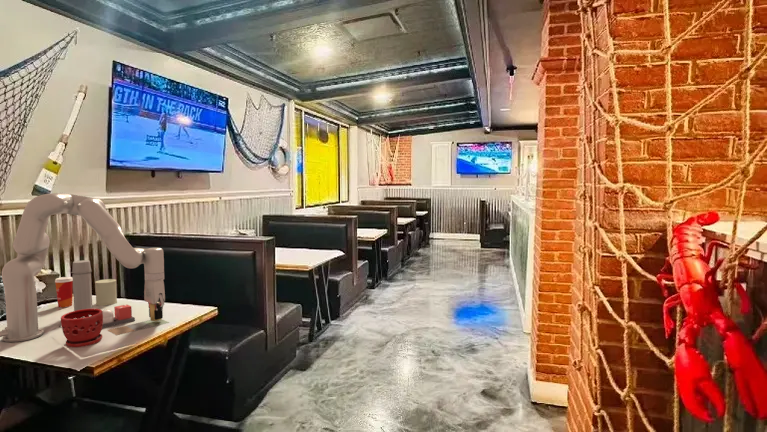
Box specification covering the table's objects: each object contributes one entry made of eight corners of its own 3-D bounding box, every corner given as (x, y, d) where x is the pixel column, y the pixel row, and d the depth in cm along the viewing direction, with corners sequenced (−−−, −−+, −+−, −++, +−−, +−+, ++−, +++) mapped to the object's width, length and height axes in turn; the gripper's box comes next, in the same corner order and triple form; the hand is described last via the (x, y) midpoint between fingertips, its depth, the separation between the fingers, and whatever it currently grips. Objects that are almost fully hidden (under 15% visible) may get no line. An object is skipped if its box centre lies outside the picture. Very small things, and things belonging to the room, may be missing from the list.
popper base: (99, 330, 183) (98, 313, 182) (92, 326, 188) (91, 310, 187) (134, 322, 194) (134, 306, 193) (127, 318, 198) (127, 303, 198)
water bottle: (92, 315, 203) (89, 262, 201) (71, 317, 199) (69, 263, 198) (95, 310, 211) (93, 259, 209) (75, 312, 208) (73, 260, 206)
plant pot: (71, 339, 172) (70, 309, 171) (109, 336, 175) (108, 307, 174) (55, 351, 159) (53, 319, 159) (95, 348, 162) (94, 316, 162)
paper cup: (59, 304, 221) (58, 277, 220) (77, 303, 224) (75, 276, 223) (52, 308, 214) (51, 280, 213) (71, 307, 216) (70, 279, 215)
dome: (101, 328, 184) (100, 312, 184) (96, 325, 188) (95, 309, 187) (116, 324, 189) (115, 309, 188) (110, 322, 192) (110, 307, 192)
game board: (116, 336, 175) (116, 335, 175) (107, 331, 181) (106, 329, 181) (169, 323, 192) (169, 322, 191) (159, 319, 198) (159, 318, 198)
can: (121, 301, 227) (120, 278, 227) (105, 306, 219) (104, 282, 218) (107, 300, 230) (106, 277, 229) (91, 304, 221) (90, 281, 220)
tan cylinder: (153, 321, 189) (152, 305, 188) (148, 319, 191) (148, 303, 191) (163, 319, 192) (163, 303, 192) (158, 317, 195) (158, 301, 194)
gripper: (137, 275, 193) (138, 316, 194) (154, 280, 182) (155, 323, 184) (154, 272, 199) (156, 312, 200) (172, 277, 188) (173, 319, 189)
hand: (156, 317), depth 192 cm, fingers closed on tan cylinder, 4 cm apart
